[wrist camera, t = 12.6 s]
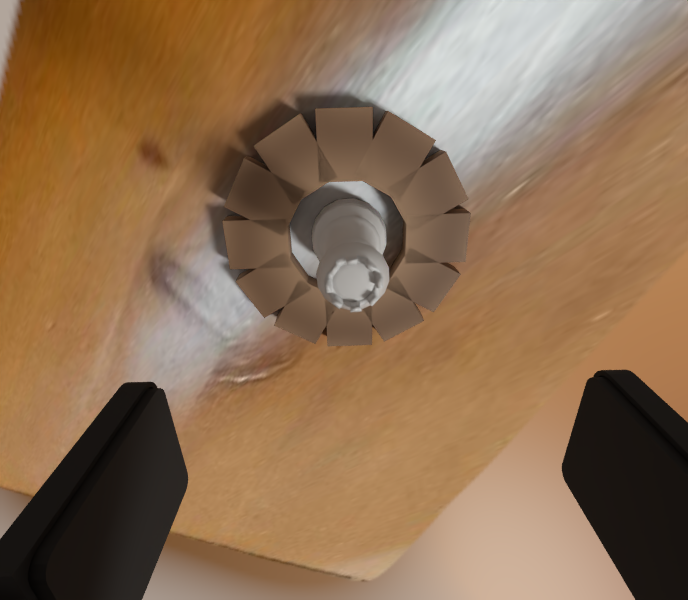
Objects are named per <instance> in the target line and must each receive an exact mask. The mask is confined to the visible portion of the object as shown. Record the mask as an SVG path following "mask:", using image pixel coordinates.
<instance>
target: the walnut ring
mask: <svg viewBox="0 0 688 600" xmlns="http://www.w3.org/2000/svg"><path fill="white" fill-rule="evenodd" d="M315 116H316V135H317V139H316V137H315V135H314V134H313V132H312V130H311V129H310V127H309V125H308V124H307V122H306V120H305V119H304V117H303V115H302V114H299V115H297V116H296V117H294V118H293V119H291V120H290V121H289V122H287V123H286V124H284V125H283V126H281V127H280V128H279V129H277V130H276V131H274V132H273V133H271V134H270V135H269V136H267V137H266V138H264V139H263V140H261V141H260V142H258V143H257V144H256V145H254V147H255V149H256V150H257V152H258V153H259V155H260V156H261V158H262V159H263V161H264V162H265V164H266V165H267V166H266V165H265V164H263V163H261V162H259V161H257V160H255V159H253V158H252V157H250V156H247V157H245V158H244V159H243V162H242V164H241V166H240V169H239V171H238V174H237V176H236V178H235V181H234V183H233V186H232V188H231V191H230V193H229V195H228V198H227V200H226V203H225V205H224V207H225V208H227V209H229V210H231V211H233V212H235V213H237V214H239V215H241V216H227V217H226V218H225V219H224V220H223V221H222V222H223V229H224V235H225V241H226V248H227V254H228V260H229V266H230V269H248V270H246V271H244V272H243V273H241V274H240V275H239V277H238V278H237V280H236V283H237V284H238V285H239V287H240V288H241V289H242V290H243V292H244V293H245V294H246V295H247V297H248V298H249V299H250V300H251V302H252V303H253V304H254V305H255V307H256V308H257V309H258V311H259V312H260V313H261V314H262V316H263V317H264V318H265V317H266V316H268V315H270V314H272V313H273V312H275V311H277V310H278V309H280V308H281V310H280V312H279V314H278V316H277V319H276V322H275V325H274V326H277V327H279V328H281V329H283V330H285V331H288V332H290V333H292V334H294V335H297V336H299V337H301V338H303V339H306V340H308V341H310V342H312V343H315V344H316V342H317V340H318V338H319V337H320V335H321V333H322V332H323V330H324V328H325V327H326V325H327V343H328V346H351V345H372V324H373V326H374V327H375V329H376V330H377V332H378V333H379V335H380V336H381V338H382V339H383V341H386V340H388V339H390V338H392V337H394V336H396V335H398V334H400V333H402V332H403V331H405V330H407V329H409V328H411V327H413V326H415V325H417V324H419V323H421V322H423V321H424V320H423V317H422V315H421V312H420V311H419V309H418V307H417V306H416V304H418V305H420V306H422V307H424V308H426V309H428V310H430V311H432V312H434V311H435V310H436V308H437V307H438V306H439V304H440V303H441V301H442V300H443V299H444V297H445V296H446V294H447V293H448V291H449V290H450V289H451V287H452V286H453V284H454V283H455V282H456V280H457V279H458V277H459V276H460V275H461V274H460V273H459V272H458V270H457V269H456V268H455V267H454V266H452V265H450V264H448V263H446V262H465V261H466V252H467V243H468V234H469V224H470V215H471V213H470V212H468V211H467V210H466V209H452V208H454V207H456V206H457V205H459V204H461V203H463V202H464V201H466V200H468V197H467V195H466V193H465V191H464V189H463V187H462V184H461V182H460V180H459V178H458V176H457V174H456V172H455V170H454V168H453V165H452V163H451V161H450V159H449V157H448V155H447V153H446V152H445V151H442V150H440V151H438V152H436V153H435V154H433V155H432V156H430V157H428V158H427V159H425V158H426V156H427V154H428V153H429V151H430V149H431V148H432V146H433V144H434V143H435V141H436V140H435V139H433V138H431V137H430V136H428V135H426V134H425V133H423V132H422V131H420V130H418V129H417V128H415V127H413V126H412V125H410V124H409V123H407V122H405V121H404V120H402V119H400V118H399V117H397V116H396V115H394V114H392V113H391V112H389V111H385V113H384V115H383V117H382V119H381V121H380V123H379V125H378V127H377V128H376V130H375V132H374V134H373V107H351V108H318V109H315ZM424 159H425V160H424ZM342 181H364V182H365V183H367V184H369V185H371V186H373V187H374V188H376V189H378V190H380V191H381V192H383V193H385V194H387V195H389V196H390V197H391V198H392V200H393V202H394V204H395V205H396V207H397V209H398V211H399V213H400V214H401V216H402V218H403V243H402V250H401V252H400V253H399V255H398V256H397V258H396V260H395V261H394V263H393V264H392V266H391V268H390V269H389V283H388V286H387V288H386V291H385V293H384V294H383V295H382V296H381V297H380V298H379V300H378V301H377V302H376V303H375V304H374V305H373V306H371V305H370V306H368V307H366V308H364V309H362V311H360V312H350V310H347V309H343V308H340V309H338V308H337V307H336V306H334V305H333V304H332V303H330V302H329V301H327V300H326V299H325V298H324V296H323V295H322V293H321V291H320V290H319V288H318V284H317V280H316V279H314V278H312V277H310V276H308V274H307V273H306V272H305V270H304V269H303V267H302V266H301V265H300V263H299V262H298V260H297V259H296V257H295V256H294V255H293V253H292V248H291V236H290V225H289V224H290V221H291V219H292V217H293V215H294V213H295V211H296V209H297V207H298V205H299V203H300V201H301V200H302V199H303V198H305V197H306V196H308V195H309V194H311V193H312V192H314V191H316V190H317V189H319V188H320V187H322V186H323V185H325V184H326V183H328V182H342ZM415 303H416V304H415Z"/></svg>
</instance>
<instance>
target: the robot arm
mask: <svg viewBox="0 0 688 600" xmlns="http://www.w3.org/2000/svg"><path fill="white" fill-rule="evenodd" d="M562 473H563V477H564V480H565V482H566V483H567V485H568V487H569V489H570V490H571V492H572V494H573V495H574V497H575V499H576V500H577V502H578V503H579V506H580V507H581V509H582V511H583V512H584V514H585V516H586V517H587V519H588V521H589V522H590V524H591V526H592V527H593V529H594V531H595V532H596V534H597V536H598V537H599V539H600V541H601V542H602V544H603V546H604V548H605V549H606V551H607V552H608V554H609V556H610V558H611V559H612V561H613V563H614V564H615V566H616V568H617V569H618V571H619V573H620V574H621V576H622V578H623V579H624V581H625V583H626V585H627V586H628V588H629V590H630V591H631V593H632V595H633V596H634V598H635V600H688V422H686V421H685V420H684V419H683V418H682V417H681V416H680V415H679V414H678V413H677V412H676V411H674V410H673V409H672V408H671V407H670V406H669V405H668V404H667V403H665V401H663V400H662V399H661V398H660V397H659V396H658V395H657V394H656V393H655V392H654V391H653V390H652V389H650V388H649V387H648V386H647V385H646V384H645V383H644V382H643V381H642V380H641V379H639V378H638V377H637V376H636V375H635V374H634V373H633V372H631V371H629V370H601V371H597V372H596V373H595V374H594V377H592V378H589V379H588V380H587V383H586V386H585V389H584V392H583V396H582V399H581V403H580V406H579V409H578V413H577V416H576V419H575V423H574V426H573V429H572V433H571V436H570V440H569V443H568V446H567V450H566V453H565V456H564V460H563V463H562ZM187 484H188V473H187V469H186V466H185V462H184V459H183V455H182V452H181V448H180V444H179V441H178V437H177V434H176V430H175V427H174V423H173V420H172V416H171V413H170V409H169V406H168V402H167V399H166V395H165V392H164V390H163V389H161V388H157V386H156V384H155V383H153V382H127V383H124V384H123V385H122V386H121V387H120V388H119V389H118V390H117V392H116V393H115V394H114V395H113V397H112V398H111V399H110V400H109V402H108V403H107V404H106V406H105V407H104V408H103V409H102V411H101V412H100V413H99V414H98V416H97V417H96V418H95V420H94V421H93V422H92V423H91V425H90V426H89V427H88V428H87V430H86V431H85V432H84V434H83V435H82V436H81V437H80V439H79V440H78V441H77V442H76V444H75V445H74V446H73V447H72V449H71V450H70V451H69V453H68V454H67V455H66V456H65V458H64V459H63V460H62V461H61V463H60V464H59V465H58V467H57V468H56V469H55V470H54V472H53V473H52V474H51V475H50V477H49V478H48V479H47V481H46V482H45V483H44V484H43V486H42V487H41V488H40V489H39V491H38V492H37V493H36V494H35V496H34V497H33V498H32V500H31V501H30V502H29V503H28V505H27V506H26V507H25V508H24V510H23V511H22V512H21V514H20V515H19V516H18V517H17V519H16V520H15V521H14V522H13V524H12V525H11V526H10V528H9V529H8V530H7V531H6V533H5V534H4V535H3V536H2V538H1V539H0V600H142V598H143V595H144V593H145V591H146V588H147V586H148V583H149V581H150V578H151V576H152V573H153V571H154V568H155V566H156V563H157V561H158V559H159V556H160V554H161V551H162V549H163V546H164V544H165V541H166V539H167V536H168V534H169V531H170V529H171V526H172V524H173V521H174V519H175V517H176V514H177V512H178V509H179V507H180V504H181V502H182V499H183V497H184V494H185V492H186V489H187Z"/></svg>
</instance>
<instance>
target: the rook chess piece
mask: <svg viewBox="0 0 688 600" xmlns="http://www.w3.org/2000/svg"><path fill="white" fill-rule="evenodd" d="M311 234H312V243H313V251H314V253H315V254H316V256H317V258H318V259H319V261H320V263H319V266H318V270H317V273H316V276H317V284H318V288H319V290H320V291H321V293H322V295H323V296H324V298H325V299H326V300H327V301H329V302H330V303H332V304H333V305H334V306H336V307H337V308H338V309H340V308H343V309H347V310H350V312H360V311H362V309H364V308H366V307H368V306H370V305H371V306H373V305H374V304H375V303H376V302H377V301H378V300H379V298H380V297H381V296H382V295H383V294H384V293H385V291H386V288H387V286H388V283H389V267H388V265H387V263H386V261H385V259H384V257H383V252H384V250H385V247H386V244H387V243H386V228H385V224H384V222H383V220H382V218H381V216H380V213H379V212H378V211H377V210H376V209H374V208H373V207H372V206H371V205H370V204H369V203H367V202H364V201H361V200H357V199H354V198H350V199H340V200H336V201H335V202H333V203H331V204H329V205H327V206H325V207H324V208H323V209H322V211H321V212H320V213H319V214H318V216H317V217H316V218H315V221H314V225H313V228H312V232H311Z"/></svg>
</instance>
